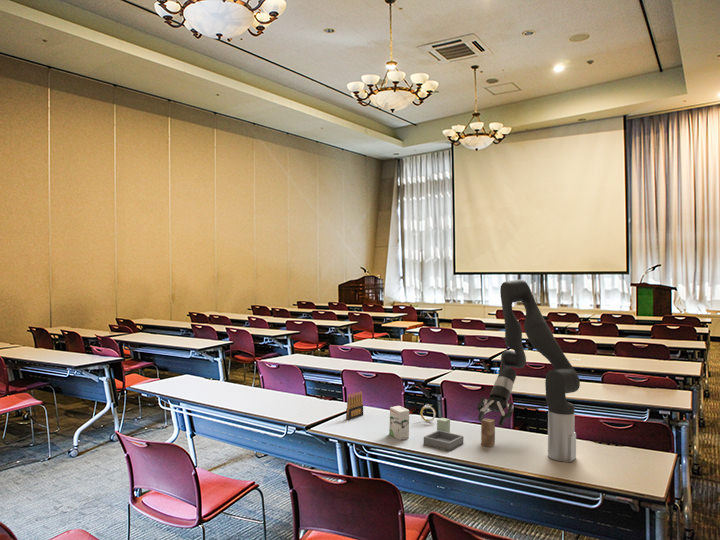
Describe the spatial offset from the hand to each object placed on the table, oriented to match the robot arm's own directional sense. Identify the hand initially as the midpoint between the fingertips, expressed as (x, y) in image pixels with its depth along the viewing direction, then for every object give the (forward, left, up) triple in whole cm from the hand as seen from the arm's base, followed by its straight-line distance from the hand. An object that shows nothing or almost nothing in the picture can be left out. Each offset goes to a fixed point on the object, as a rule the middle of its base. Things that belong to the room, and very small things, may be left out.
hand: (489, 423), depth 203 cm
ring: (+35, -9, -8) cm, 37 cm away
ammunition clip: (+65, +8, -9) cm, 66 cm away
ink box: (+33, +17, -8) cm, 38 cm away
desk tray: (+14, +13, -8) cm, 21 cm away
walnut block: (0, +2, -8) cm, 8 cm away
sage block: (+21, +1, -8) cm, 23 cm away
